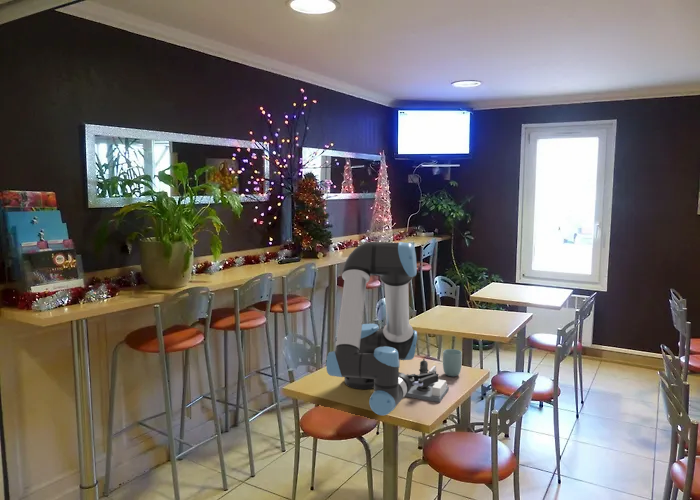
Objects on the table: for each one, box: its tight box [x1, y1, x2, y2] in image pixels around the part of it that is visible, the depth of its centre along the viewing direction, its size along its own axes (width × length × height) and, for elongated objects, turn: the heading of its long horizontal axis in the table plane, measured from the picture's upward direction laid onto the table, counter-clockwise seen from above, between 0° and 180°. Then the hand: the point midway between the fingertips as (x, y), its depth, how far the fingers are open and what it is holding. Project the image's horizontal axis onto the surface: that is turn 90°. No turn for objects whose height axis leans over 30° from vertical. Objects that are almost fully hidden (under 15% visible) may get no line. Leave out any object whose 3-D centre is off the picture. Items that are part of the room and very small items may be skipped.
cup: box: [442, 348, 463, 377], centre depth 220 cm, size 8×8×10 cm
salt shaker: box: [417, 358, 431, 392], centre depth 200 cm, size 6×6×12 cm
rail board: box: [404, 377, 450, 403], centre depth 201 cm, size 16×13×4 cm
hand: (416, 366), depth 190 cm, fingers open, 13 cm apart
